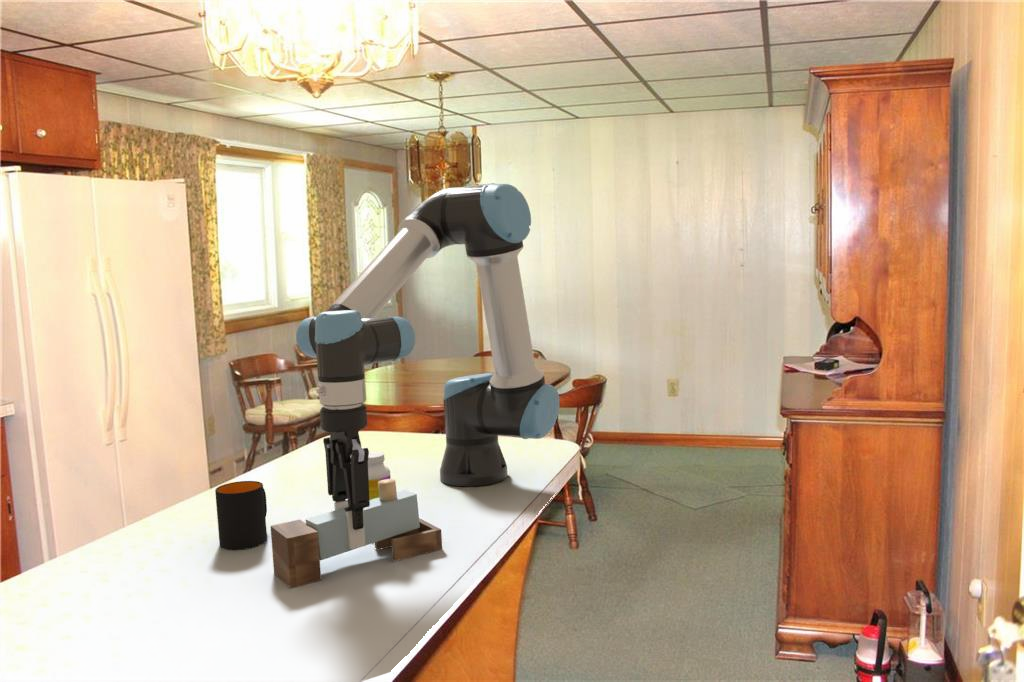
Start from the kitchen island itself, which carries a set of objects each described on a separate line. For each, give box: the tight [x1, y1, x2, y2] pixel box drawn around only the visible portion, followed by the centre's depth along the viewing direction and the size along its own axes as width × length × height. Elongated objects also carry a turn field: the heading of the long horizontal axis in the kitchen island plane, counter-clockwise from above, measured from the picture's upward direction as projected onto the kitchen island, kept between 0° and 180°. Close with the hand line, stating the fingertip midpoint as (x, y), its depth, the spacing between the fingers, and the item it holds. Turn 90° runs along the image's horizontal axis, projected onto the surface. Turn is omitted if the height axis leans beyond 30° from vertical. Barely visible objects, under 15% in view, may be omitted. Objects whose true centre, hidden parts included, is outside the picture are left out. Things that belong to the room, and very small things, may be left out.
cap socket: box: [270, 519, 322, 589], centre depth 141 cm, size 5×8×8 cm, turn 33°
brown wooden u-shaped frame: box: [374, 517, 443, 562], centre depth 152 cm, size 9×8×4 cm
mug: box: [214, 480, 268, 551], centre depth 160 cm, size 8×12×10 cm
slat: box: [305, 478, 420, 561], centre depth 147 cm, size 19×4×9 cm, turn 129°
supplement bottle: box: [368, 451, 392, 500], centre depth 169 cm, size 7×7×13 cm
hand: (350, 542), depth 146 cm, fingers open, 4 cm apart
